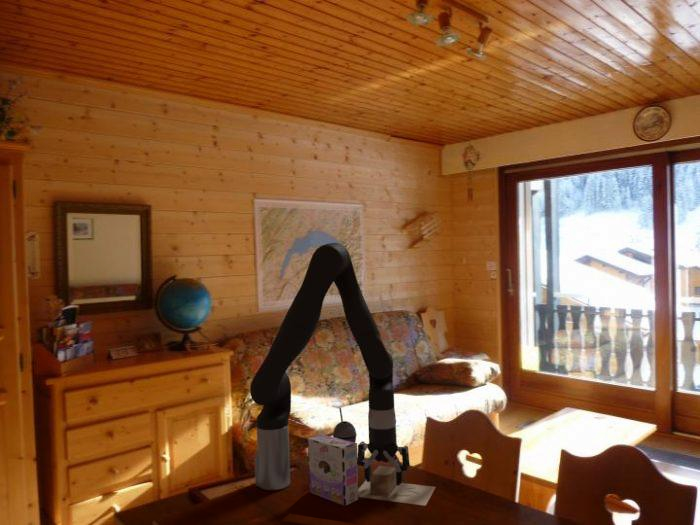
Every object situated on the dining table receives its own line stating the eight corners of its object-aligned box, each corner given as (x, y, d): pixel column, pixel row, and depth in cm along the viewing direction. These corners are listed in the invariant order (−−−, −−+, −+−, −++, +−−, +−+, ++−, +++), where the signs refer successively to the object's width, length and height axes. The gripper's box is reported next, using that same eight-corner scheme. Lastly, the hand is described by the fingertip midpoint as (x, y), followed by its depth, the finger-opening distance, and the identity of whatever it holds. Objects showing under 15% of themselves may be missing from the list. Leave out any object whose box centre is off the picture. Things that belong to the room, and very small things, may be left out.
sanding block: (370, 494, 147) (369, 476, 147) (379, 483, 155) (379, 465, 155) (388, 497, 146) (387, 478, 146) (396, 485, 153) (396, 467, 153)
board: (352, 501, 147) (352, 495, 147) (367, 483, 158) (367, 478, 158) (425, 511, 140) (425, 505, 140) (435, 492, 151) (435, 486, 151)
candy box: (360, 504, 145) (358, 442, 145) (344, 512, 141) (342, 448, 141) (323, 490, 155) (322, 432, 155) (308, 497, 151) (306, 437, 150)
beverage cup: (357, 477, 163) (355, 410, 163) (333, 477, 164) (331, 410, 164) (357, 467, 171) (355, 403, 171) (334, 468, 171) (332, 404, 171)
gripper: (352, 425, 149) (354, 485, 149) (403, 430, 144) (405, 491, 144) (362, 418, 156) (364, 474, 156) (410, 421, 151) (412, 480, 151)
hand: (383, 482), depth 150 cm, fingers open, 8 cm apart
